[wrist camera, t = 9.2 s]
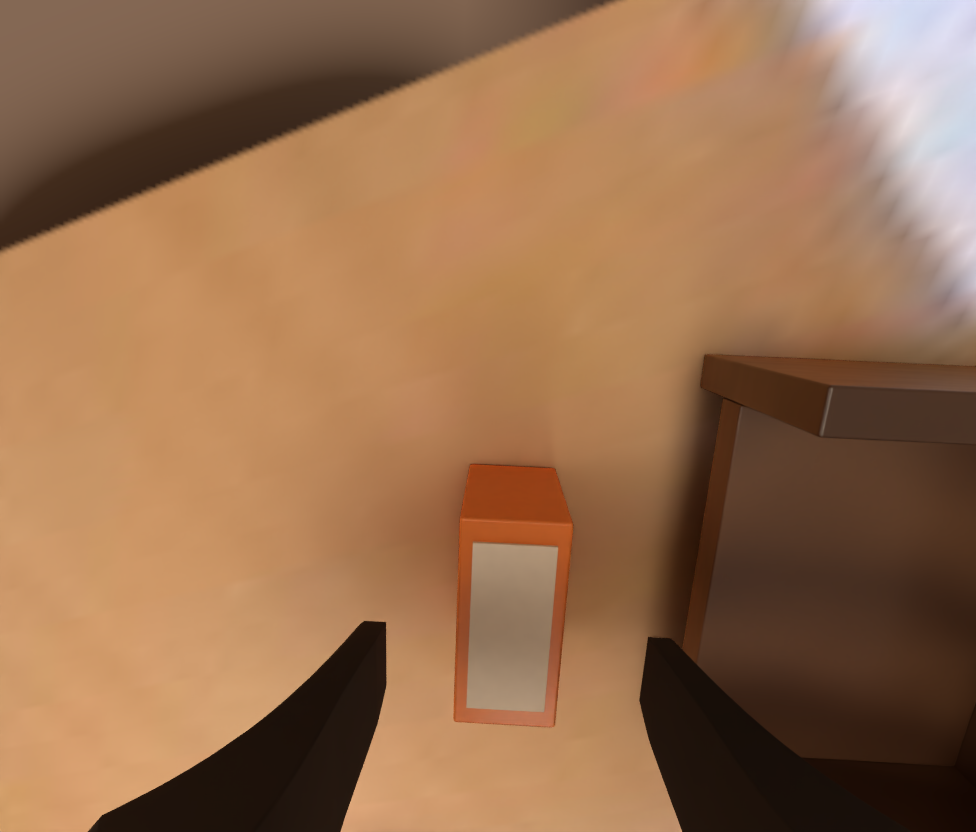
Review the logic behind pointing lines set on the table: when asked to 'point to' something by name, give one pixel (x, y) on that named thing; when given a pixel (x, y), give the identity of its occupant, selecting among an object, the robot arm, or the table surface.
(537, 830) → the table surface
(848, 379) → the shelf
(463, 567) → the packet
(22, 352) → the table surface
